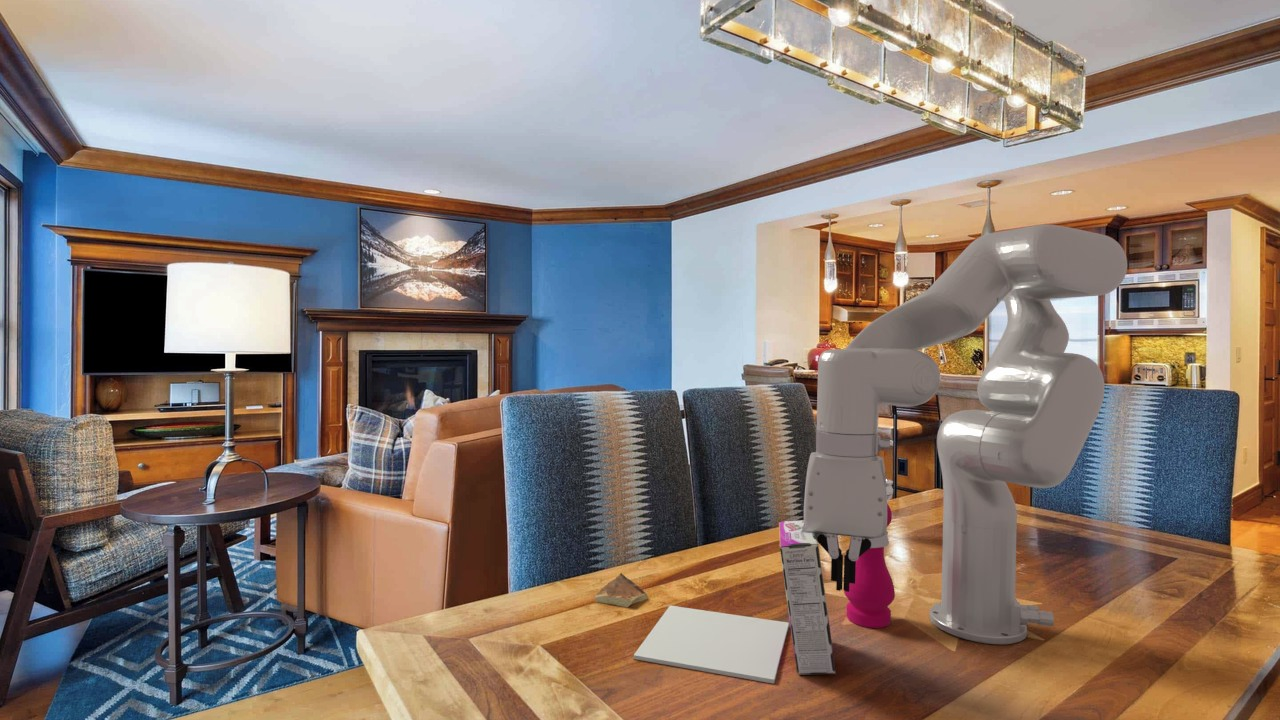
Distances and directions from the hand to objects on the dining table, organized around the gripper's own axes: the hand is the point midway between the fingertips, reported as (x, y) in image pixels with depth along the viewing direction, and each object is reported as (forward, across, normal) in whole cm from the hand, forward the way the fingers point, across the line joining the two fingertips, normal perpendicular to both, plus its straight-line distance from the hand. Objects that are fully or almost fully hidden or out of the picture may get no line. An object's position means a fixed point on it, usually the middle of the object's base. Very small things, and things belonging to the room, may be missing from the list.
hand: (842, 587), depth 83 cm
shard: (+11, +36, -12) cm, 39 cm away
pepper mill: (+10, -4, -15) cm, 18 cm away
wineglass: (+10, -6, -61) cm, 62 cm away
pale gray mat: (+10, +16, 0) cm, 19 cm away
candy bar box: (+10, +4, 0) cm, 10 cm away
